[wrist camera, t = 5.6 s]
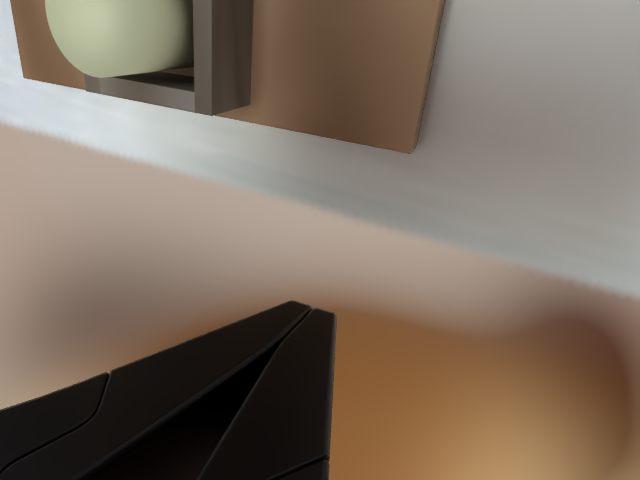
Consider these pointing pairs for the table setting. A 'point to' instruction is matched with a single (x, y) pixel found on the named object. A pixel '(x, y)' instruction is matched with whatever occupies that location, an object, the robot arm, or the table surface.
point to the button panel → (278, 65)
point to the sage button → (123, 35)
